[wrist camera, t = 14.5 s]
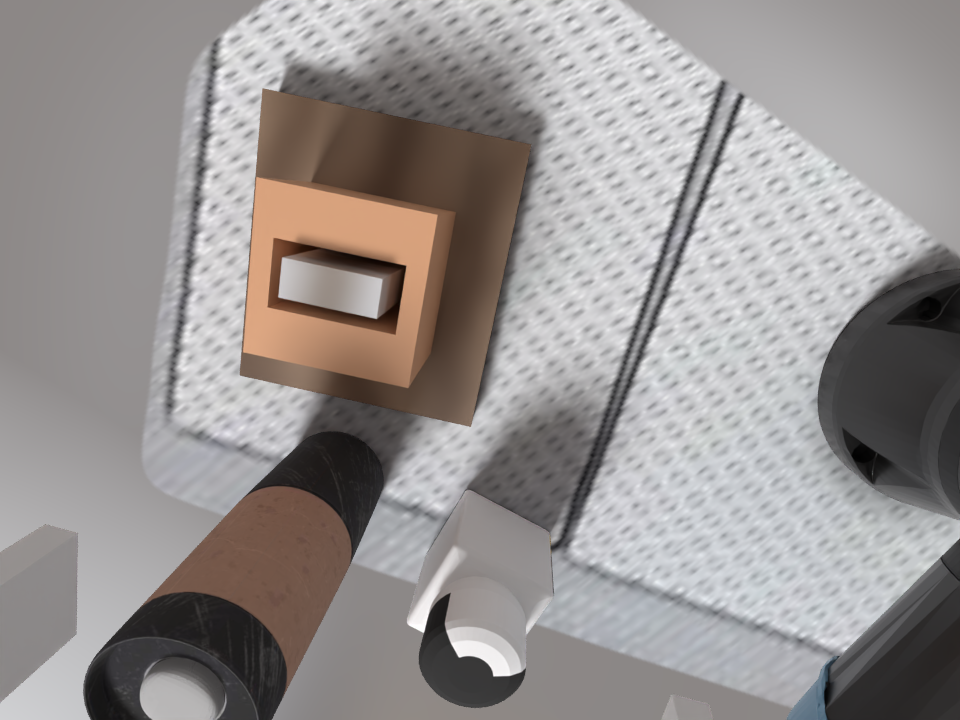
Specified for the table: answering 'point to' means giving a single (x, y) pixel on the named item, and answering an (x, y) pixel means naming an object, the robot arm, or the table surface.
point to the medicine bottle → (480, 601)
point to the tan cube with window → (355, 230)
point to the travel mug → (244, 596)
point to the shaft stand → (379, 284)
